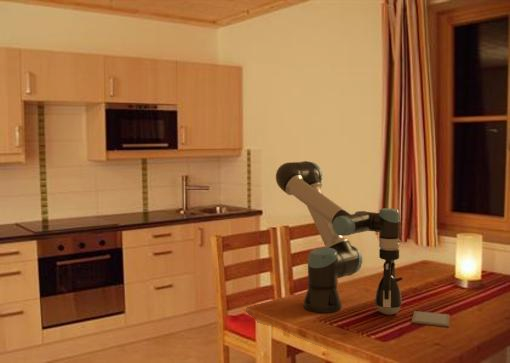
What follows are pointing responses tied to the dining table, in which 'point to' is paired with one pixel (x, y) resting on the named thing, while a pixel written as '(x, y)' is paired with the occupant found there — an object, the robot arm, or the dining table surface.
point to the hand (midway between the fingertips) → (389, 302)
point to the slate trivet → (430, 318)
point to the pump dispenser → (395, 297)
